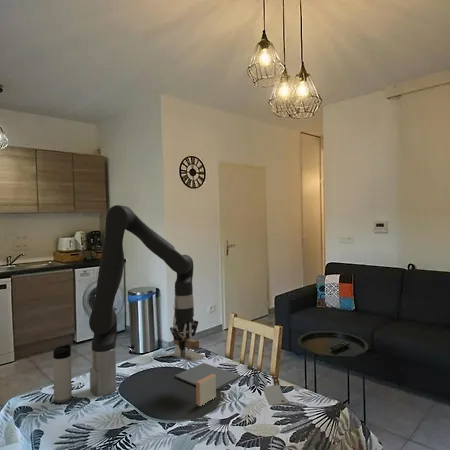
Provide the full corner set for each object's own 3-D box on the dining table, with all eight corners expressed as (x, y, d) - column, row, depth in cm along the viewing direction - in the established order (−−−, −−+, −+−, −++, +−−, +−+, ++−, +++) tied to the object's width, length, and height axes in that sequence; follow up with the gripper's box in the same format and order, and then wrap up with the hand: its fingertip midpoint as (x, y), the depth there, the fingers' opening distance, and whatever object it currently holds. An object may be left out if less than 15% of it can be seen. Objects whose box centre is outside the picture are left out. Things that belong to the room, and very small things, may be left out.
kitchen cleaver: (258, 375, 159) (281, 374, 158) (259, 377, 159) (282, 376, 158) (262, 404, 134) (289, 403, 134) (262, 407, 134) (290, 406, 134)
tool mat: (211, 393, 144) (211, 390, 144) (174, 377, 158) (174, 375, 158) (240, 378, 157) (240, 375, 157) (203, 364, 172) (203, 362, 172)
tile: (199, 407, 133) (199, 383, 133) (196, 405, 134) (196, 381, 134) (216, 398, 140) (216, 375, 140) (212, 396, 141) (212, 373, 141)
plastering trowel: (169, 354, 146) (169, 337, 145) (182, 349, 151) (182, 333, 151) (192, 362, 137) (191, 344, 137) (205, 356, 142) (204, 339, 142)
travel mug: (76, 396, 142) (75, 345, 142) (62, 404, 136) (61, 351, 136) (64, 393, 145) (63, 343, 144) (50, 401, 139) (49, 349, 138)
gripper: (190, 301, 152) (191, 342, 152) (164, 307, 141) (165, 351, 142) (203, 303, 147) (204, 346, 147) (177, 310, 136) (178, 356, 137)
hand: (185, 348), depth 144 cm, fingers closed on plastering trowel, 2 cm apart
